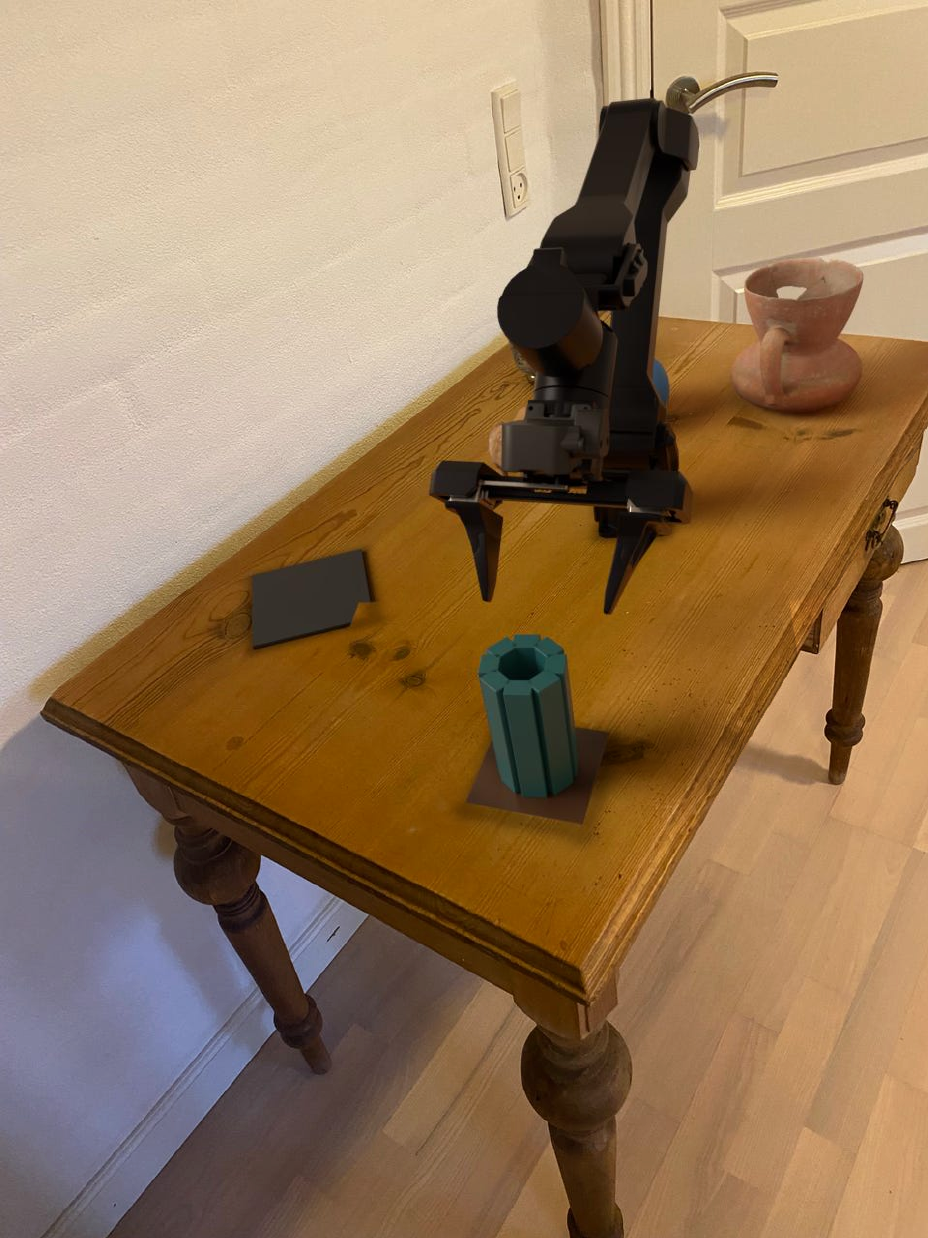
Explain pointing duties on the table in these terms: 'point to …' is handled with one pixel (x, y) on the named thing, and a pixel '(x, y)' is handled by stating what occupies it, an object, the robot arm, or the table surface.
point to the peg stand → (559, 807)
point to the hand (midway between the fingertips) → (545, 607)
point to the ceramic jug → (799, 336)
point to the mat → (307, 598)
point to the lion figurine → (496, 441)
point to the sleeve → (530, 714)
